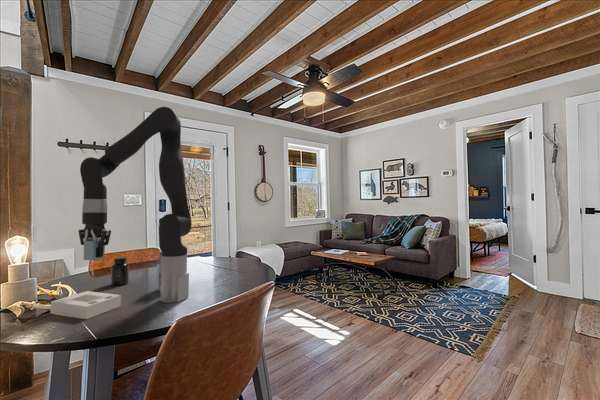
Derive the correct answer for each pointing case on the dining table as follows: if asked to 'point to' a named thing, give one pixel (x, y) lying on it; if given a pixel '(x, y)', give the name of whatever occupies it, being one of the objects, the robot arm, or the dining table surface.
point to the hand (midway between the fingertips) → (94, 256)
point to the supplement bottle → (120, 272)
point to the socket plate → (85, 304)
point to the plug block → (91, 250)
